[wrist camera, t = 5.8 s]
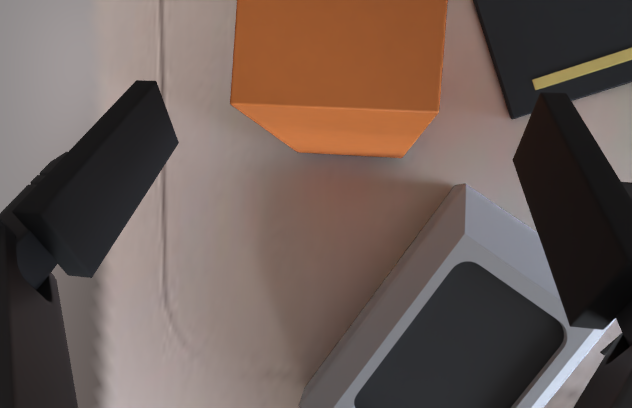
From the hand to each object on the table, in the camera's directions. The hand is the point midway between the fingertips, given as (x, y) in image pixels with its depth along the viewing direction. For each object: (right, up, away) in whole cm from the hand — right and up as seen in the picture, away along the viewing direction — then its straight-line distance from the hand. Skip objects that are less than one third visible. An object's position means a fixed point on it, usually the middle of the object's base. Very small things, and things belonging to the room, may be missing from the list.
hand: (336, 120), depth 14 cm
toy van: (+2, +5, +9) cm, 10 cm away
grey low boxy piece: (+7, -11, +9) cm, 15 cm away
